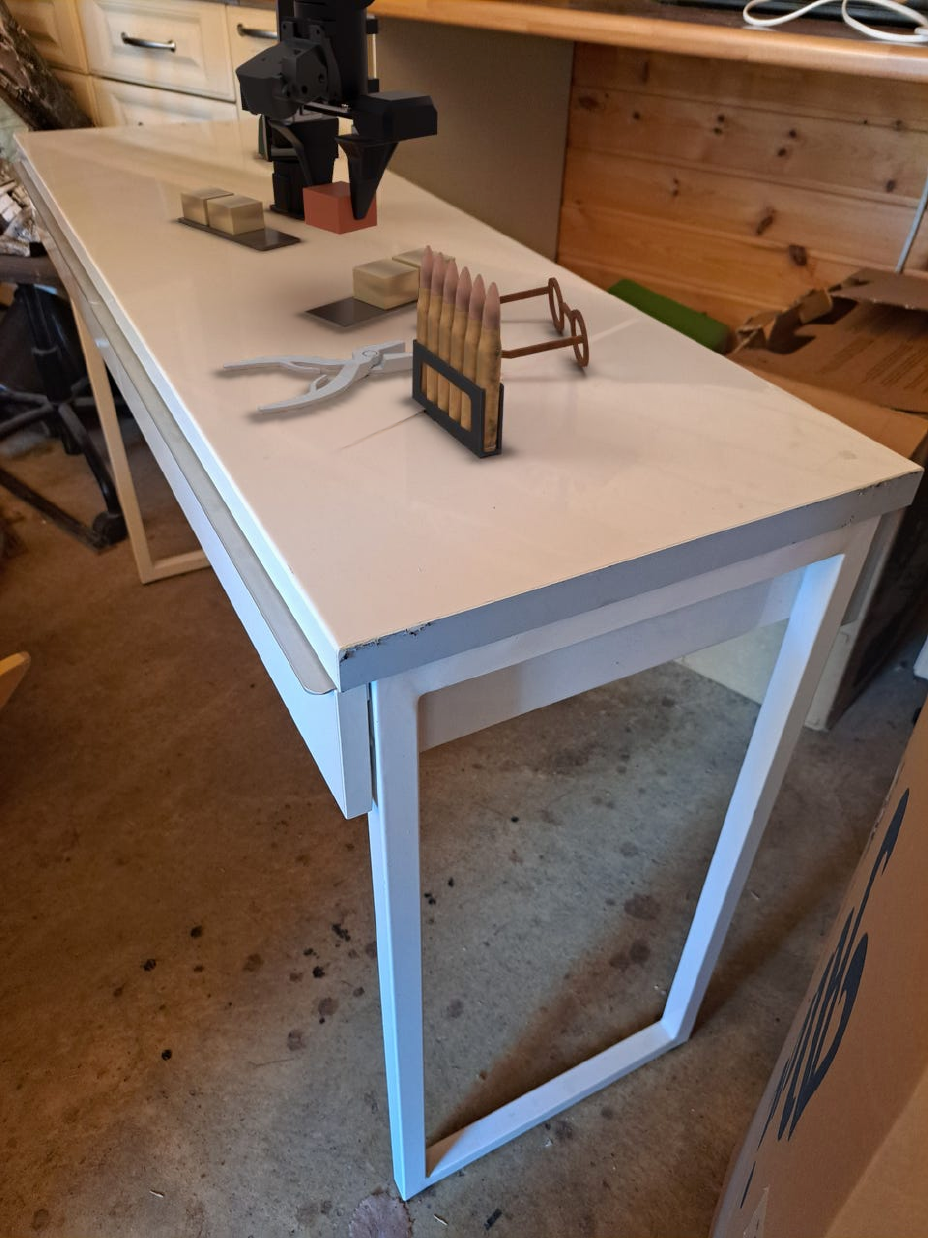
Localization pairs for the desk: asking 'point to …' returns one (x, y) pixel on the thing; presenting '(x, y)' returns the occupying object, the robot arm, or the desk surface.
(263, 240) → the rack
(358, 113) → the robot arm
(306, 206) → the red block
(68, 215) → the desk surface
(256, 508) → the desk surface
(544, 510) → the desk surface
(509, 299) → the glasses
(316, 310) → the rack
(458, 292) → the ammunition clip
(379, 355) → the pliers
